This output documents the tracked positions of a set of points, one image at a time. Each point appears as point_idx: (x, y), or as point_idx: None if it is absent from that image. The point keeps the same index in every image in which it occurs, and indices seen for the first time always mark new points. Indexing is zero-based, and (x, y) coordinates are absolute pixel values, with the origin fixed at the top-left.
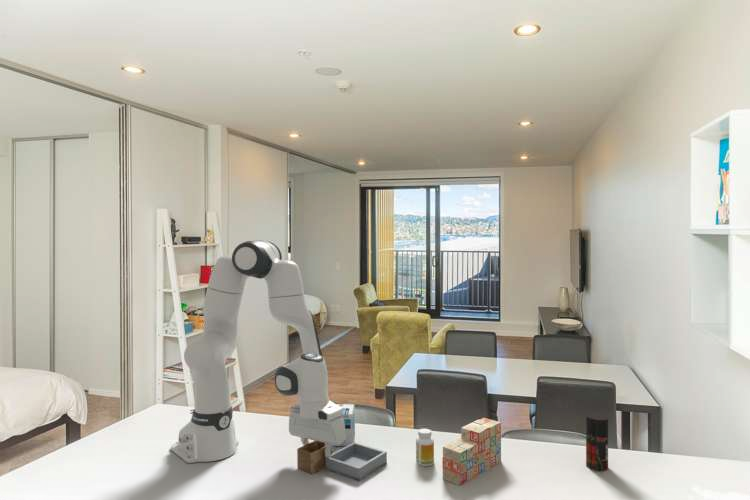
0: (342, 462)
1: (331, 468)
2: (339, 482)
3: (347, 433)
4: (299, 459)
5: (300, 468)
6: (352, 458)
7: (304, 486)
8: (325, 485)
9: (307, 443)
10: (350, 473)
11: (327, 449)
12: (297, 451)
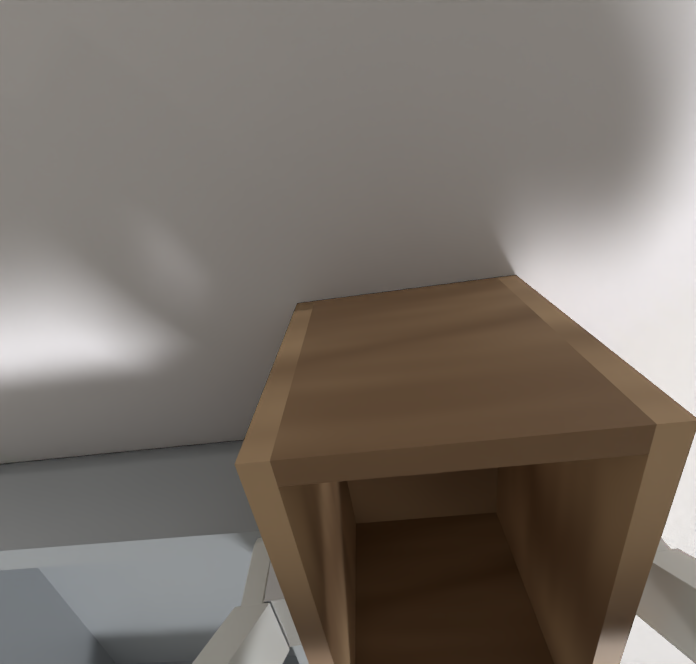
0: (52, 554)
1: (224, 459)
2: (6, 368)
3: None
4: (526, 326)
5: (473, 286)
6: None
7: (92, 47)
8: (4, 248)
9: (666, 615)
10: (8, 489)
11: (200, 653)
12: (646, 385)
